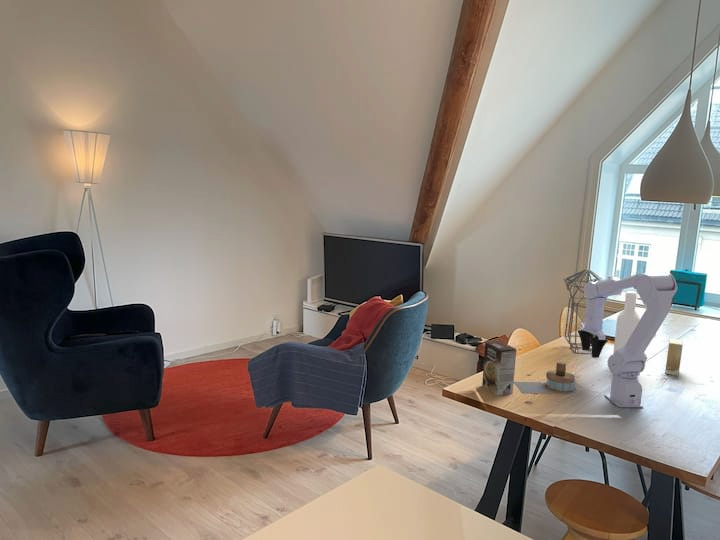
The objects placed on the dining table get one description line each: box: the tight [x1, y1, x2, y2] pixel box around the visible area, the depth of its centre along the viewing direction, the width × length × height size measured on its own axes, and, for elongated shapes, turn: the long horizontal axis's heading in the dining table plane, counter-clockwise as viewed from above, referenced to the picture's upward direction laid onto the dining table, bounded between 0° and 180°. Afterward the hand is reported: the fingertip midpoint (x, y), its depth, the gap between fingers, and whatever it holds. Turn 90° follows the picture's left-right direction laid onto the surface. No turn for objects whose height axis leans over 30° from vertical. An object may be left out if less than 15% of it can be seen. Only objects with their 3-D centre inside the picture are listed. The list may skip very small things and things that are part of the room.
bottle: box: [612, 290, 641, 355], centre depth 195 cm, size 8×8×30 cm
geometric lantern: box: [563, 269, 603, 355], centre depth 216 cm, size 16×16×35 cm
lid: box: [545, 361, 576, 383], centre depth 176 cm, size 9×9×5 cm
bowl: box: [546, 377, 577, 392], centre depth 177 cm, size 9×9×4 cm
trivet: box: [513, 381, 553, 395], centre depth 175 cm, size 10×10×1 cm
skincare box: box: [664, 338, 684, 377], centre depth 194 cm, size 6×4×12 cm
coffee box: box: [481, 340, 517, 396], centre depth 172 cm, size 9×6×16 cm
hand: (590, 353), depth 182 cm, fingers open, 7 cm apart
